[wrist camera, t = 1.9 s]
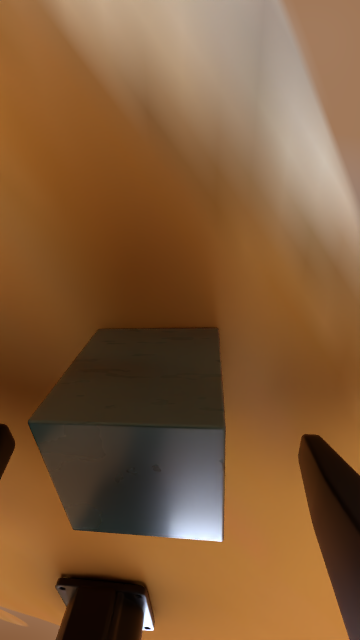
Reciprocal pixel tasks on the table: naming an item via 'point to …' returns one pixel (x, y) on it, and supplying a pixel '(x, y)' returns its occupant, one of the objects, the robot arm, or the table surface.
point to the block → (139, 434)
